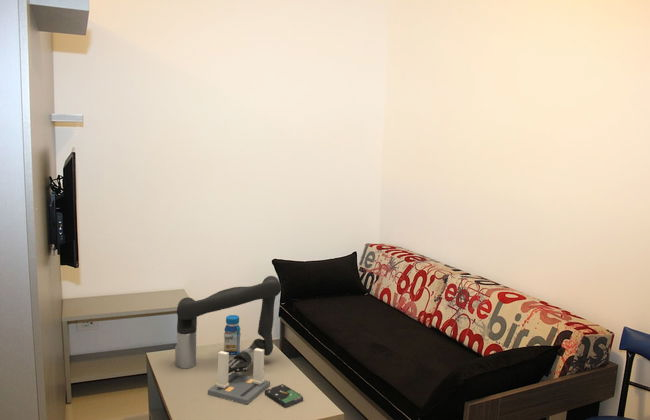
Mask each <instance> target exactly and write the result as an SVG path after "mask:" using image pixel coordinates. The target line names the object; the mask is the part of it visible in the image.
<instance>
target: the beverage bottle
mask: <svg viewBox="0 0 650 420" xmlns="http://www.w3.org/2000/svg"><path fill="white" fill-rule="evenodd" d="M225 317H226V318H225V323H226V325H225V326H224V333H223V340H224V341H223V344H224V345H223V349H224V350H223V351H224V352H228V353H229V357H235V356H236V355H237V354H239V353H240V352H241V347H240V346H241V326H240V316H238V315H237V314H229V315H227V316H225Z"/></svg>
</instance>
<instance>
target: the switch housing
mask: <svg viewBox="0 0 650 420" xmlns="http://www.w3.org/2000/svg"><path fill="white" fill-rule="evenodd" d="M252 380H253V376H249V375H246V374H242V373H239V372H238V373H234V372H232V373H229V374H228V383H229V386H228V387H226V388H225V389H224V388H221V387H217V386H216V384H214V385H213V386H212V387H209V389H207V394H208V395H209V396H210V395H211V396H213V397H217V398H220V397H221V398H220V399H224V398H226V399H225V400H228V399H229V401H231V400H233V401H232V402H235V401H236V402H235V403H239V404H242V403H243V405H249V404H250V403H251V402H252V401H253V400H254V399H256V398H257V397H258V396H260V395H261V394H262V393H263V392H265V390H267V389H269V387H270V386H271V381H270V380H266V379H264V382H263V383H262V384H261V385H259V384H255V383H252Z"/></svg>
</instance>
